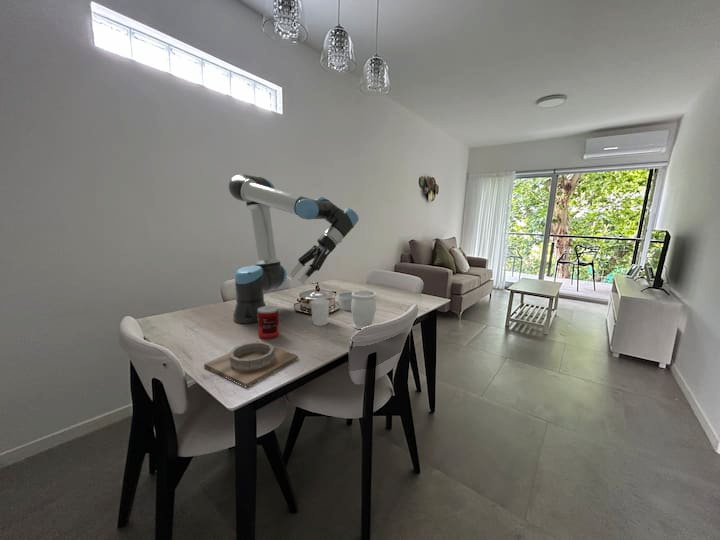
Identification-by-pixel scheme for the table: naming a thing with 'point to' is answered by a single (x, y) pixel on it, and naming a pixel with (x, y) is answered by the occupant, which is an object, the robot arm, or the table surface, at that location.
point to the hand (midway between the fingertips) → (295, 278)
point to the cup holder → (250, 362)
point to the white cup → (320, 311)
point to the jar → (363, 308)
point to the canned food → (268, 322)
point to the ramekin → (345, 301)
